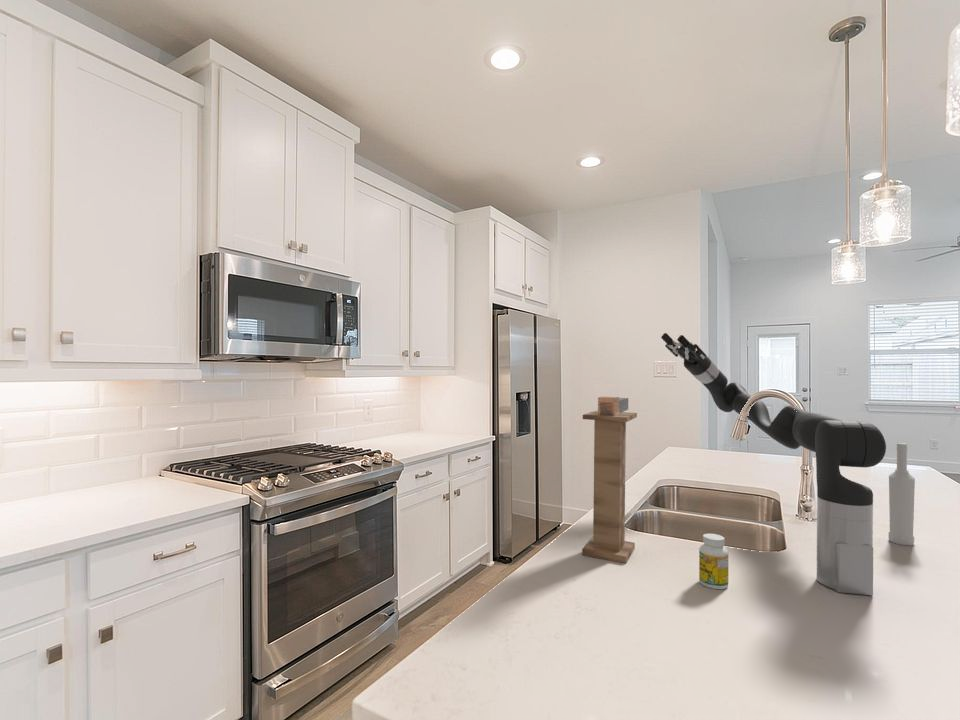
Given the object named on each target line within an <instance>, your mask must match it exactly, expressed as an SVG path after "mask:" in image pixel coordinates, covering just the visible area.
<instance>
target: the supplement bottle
mask: <svg viewBox="0 0 960 720" xmlns="http://www.w3.org/2000/svg"><path fill="white" fill-rule="evenodd" d="M725 540H726V539H725V537H724V536H722V535H720V534H717V533H703V534H702V542H703V543H702V544H701V545H700V546H699V550H698V553H699V559H698V560H699V562H698V563H699V565H698V566H699V568H698V570H699V571H698V573H699V575H698V578H699V582H700V584H701V585H703V586H705V587H706V588H708V589H713V590H725V589H727V588H728V587H729V571H730V570H729V550H728V549H727V548H726V547H725V543H726V541H725Z"/></svg>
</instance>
